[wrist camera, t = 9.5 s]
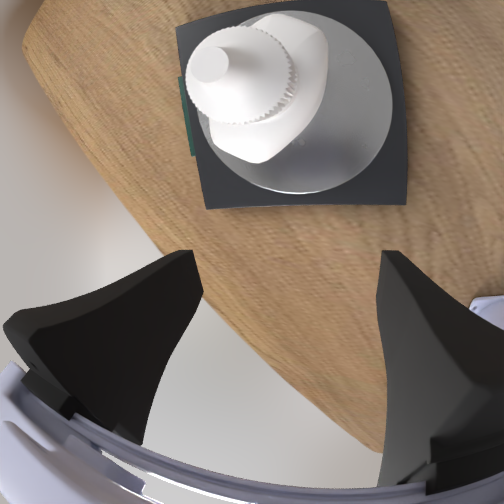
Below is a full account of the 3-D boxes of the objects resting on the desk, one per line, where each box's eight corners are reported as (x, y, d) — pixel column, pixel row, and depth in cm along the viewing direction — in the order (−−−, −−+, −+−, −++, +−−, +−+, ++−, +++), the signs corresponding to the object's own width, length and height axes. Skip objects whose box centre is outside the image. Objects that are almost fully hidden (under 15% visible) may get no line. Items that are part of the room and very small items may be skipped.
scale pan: (393, 191, 15) (395, 193, 15) (215, 196, 19) (212, 198, 18) (375, 11, 10) (376, 8, 9) (188, 34, 13) (184, 32, 13)
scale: (400, 198, 17) (406, 205, 16) (208, 203, 21) (200, 210, 20) (382, 8, 10) (386, 0, 9) (180, 33, 15) (169, 29, 13)
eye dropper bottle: (231, 96, 15) (71, 97, 4) (306, 44, 12) (260, -79, 2) (274, 151, 16) (176, 240, 6) (352, 102, 13) (427, 83, 3)
